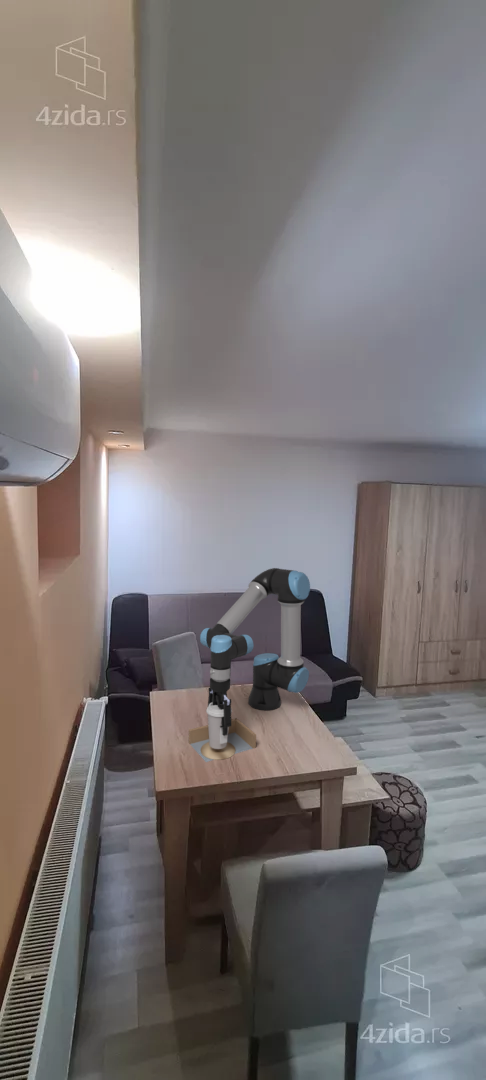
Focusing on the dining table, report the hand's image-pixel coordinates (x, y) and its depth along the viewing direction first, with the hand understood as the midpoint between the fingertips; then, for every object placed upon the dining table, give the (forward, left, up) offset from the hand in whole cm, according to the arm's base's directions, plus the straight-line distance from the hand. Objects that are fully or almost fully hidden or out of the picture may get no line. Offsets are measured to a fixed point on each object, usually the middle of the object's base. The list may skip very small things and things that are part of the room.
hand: (218, 737), depth 172 cm
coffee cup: (0, 0, -3) cm, 3 cm away
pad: (0, 0, -5) cm, 5 cm away
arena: (-3, -3, -6) cm, 7 cm away
